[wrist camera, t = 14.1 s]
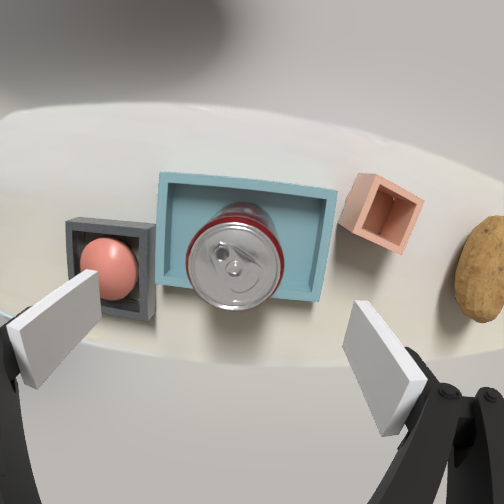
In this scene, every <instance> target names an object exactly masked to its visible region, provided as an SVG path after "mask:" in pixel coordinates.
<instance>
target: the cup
mask: <svg viewBox="0 0 504 504" xmlns="http://www.w3.org/2000/svg"><path fill="white" fill-rule="evenodd" d="M393 198H394V202H393ZM423 203H424V200H422V199H421V198H419V197H417V196H415V195H414V194H412V193H410V192H408V191H407V190H405V189H403V188H401V187H399V186H398V185H396V184H394V183H392V182H390V181H388V180H387V179H385V178H383V177H381V176H379V175H377V174H363V173H358V175H357V178H356V180H355V183H354V185H353V188H352V190H351V191H350V193H349V194H348V196H347V198H346V201H345V207H344V210H343V212H342V214H341V217H340V219H339V221H338V224H340V225H341V226H343V227H344V228H346V229H347V230H349V231H350V232H352V233H354V234H356V235H358V236H361V237H363V238H365V239H367V240H369V241H372V242H374V243H376V244H378V245H380V246H383V247H385V248H387V249H389V250H391V251H393V252H395V253H398V254H400V255H402V253H403V251H404V249H405V247H406V244H407V242H408V240H409V238H410V235H411V233H412V231H413V228H414V226H415V223H416V221H417V219H418V216H419V214H420V211H421V209H422V206H423ZM380 232H381V233H380ZM378 233H380V235H378Z"/></svg>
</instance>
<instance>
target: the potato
mask: <svg viewBox="0 0 504 504" xmlns="http://www.w3.org/2000/svg"><path fill="white" fill-rule="evenodd" d="M454 288H455V298H456V300H457V301H458V303H459V305H460V307H461V309H462V311H463V313H464V314H465V315H467V316H468V317H470V318H471V319H473V320H475V321H476V322H479V323H486V322H489V321H492V320H494V319H495V318H496V317H497V315H498V314H499V313H500V312H501V309H502V307H503V305H504V216H491V217H488V218H486V219H485V220H484V221H483V222H481V223H480V224H479V225H478V226H476V227H475V228H474V230H473V231H472V232H471V233H470V235H469V236H468V239H467V241H466V243H465V245H464V248H463V250H462V253H461V256H460V259H459V263H458V266H457V270H456V274H455V284H454Z"/></svg>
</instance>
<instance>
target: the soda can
mask: <svg viewBox="0 0 504 504" xmlns="http://www.w3.org/2000/svg"><path fill="white" fill-rule="evenodd" d="M185 266H186V273H187V276H188V279H189V282H190V284H191V285H192V287H193V289H194V291H195V292H196V293H197V294H198V295H199V296H200V297H201V298H202V299H203V300H204V301H206V302H207V303H208V304H210V305H212V306H214V307H216V308H219V309H222V310H226V311H233V312H236V311H246V310H250V309H253V308H256V307H258V306H260V305H262V304H263V303H265V302H266V301H267V300H269V299H270V298H271V297H272V296H273V295H274V294H275V292H276V291H277V289H278V288H279V286H280V284H281V281H282V279H283V275H284V269H285V262H284V255H283V251H282V247H281V244H280V241H279V237H278V234H277V231H276V227H275V224H274V222H273V220H272V218H271V217H270V215H269V214H268V213H267V212H266V211H265V210H264V209H263V208H261V207H260V206H258V205H256V204H253V203H250V202H234V203H231V204H228V205H226V206H224V207H223V208H221V209H220V210H219V211H218V212H217V213H216V214H215V215H214V216H213V217H211V218H210V219H209V220H208V221H207V222H206V223H205V224H204V225H203V226H202V227H201V228H200V229H199V230H198V232H197V233H196V234H195V235H194V236H193V238H192V240H191V242H190V244H189V246H188V249H187V252H186V260H185Z"/></svg>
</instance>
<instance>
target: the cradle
mask: <svg viewBox="0 0 504 504" xmlns="http://www.w3.org/2000/svg"><path fill="white" fill-rule="evenodd" d="M65 222H66V250H67V265H68V277H69V280H71V279H72V278H74V277H75V276H77V275H78V274H80V273H81V268H80V260H81V255H82V252H83V250H84V248H85V232H94V233H103V234H112V235H122V236H131V237H139V299H140V301H135V300H129V299H123V298H122V299H119V300H106V299H103V298H101V297H100V304H101V313H104V314H109V315H114V316H119V317H124V318H129V319H135V320H140V321H146V322H149V320H150V319H151V317H152V316H153V314H154V313H155V311H156V285H155V249H156V224H151V223H140V222H129V221H118V220H107V219H95V218H83V217H77V218H74V219H71V220H68V221H65Z"/></svg>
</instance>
